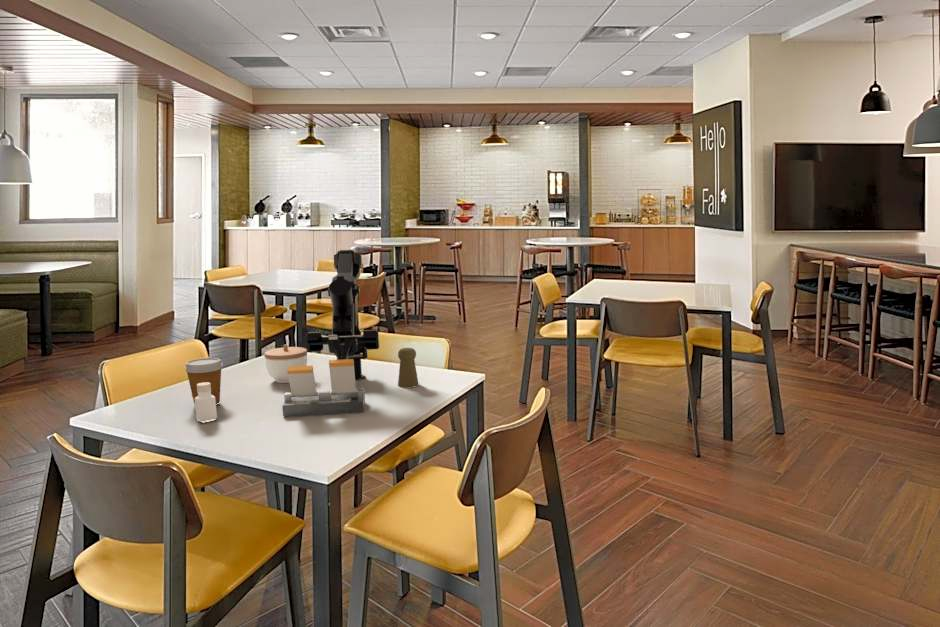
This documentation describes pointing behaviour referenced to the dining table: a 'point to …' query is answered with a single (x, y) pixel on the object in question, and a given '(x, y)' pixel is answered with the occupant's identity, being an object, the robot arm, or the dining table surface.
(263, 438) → the dining table surface
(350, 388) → the panel
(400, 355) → the pepper shaker
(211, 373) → the disposable coffee cup
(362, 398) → the light switch frame
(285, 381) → the lidded bowl
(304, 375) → the white orange-topped slab
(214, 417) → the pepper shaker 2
